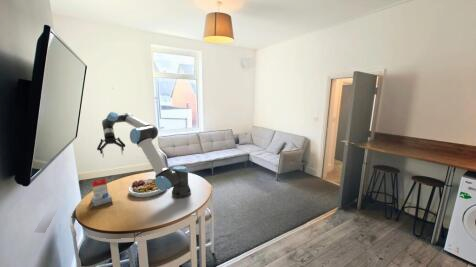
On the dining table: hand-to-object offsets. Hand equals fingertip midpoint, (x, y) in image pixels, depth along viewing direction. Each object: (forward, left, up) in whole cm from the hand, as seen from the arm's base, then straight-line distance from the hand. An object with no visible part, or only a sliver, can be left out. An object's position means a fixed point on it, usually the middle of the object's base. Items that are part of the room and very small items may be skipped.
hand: (113, 155), depth 167 cm
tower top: (-17, +12, -30) cm, 36 cm away
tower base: (-17, +12, -32) cm, 38 cm away
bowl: (-15, -22, -32) cm, 42 cm away
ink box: (-17, +12, -27) cm, 34 cm away
